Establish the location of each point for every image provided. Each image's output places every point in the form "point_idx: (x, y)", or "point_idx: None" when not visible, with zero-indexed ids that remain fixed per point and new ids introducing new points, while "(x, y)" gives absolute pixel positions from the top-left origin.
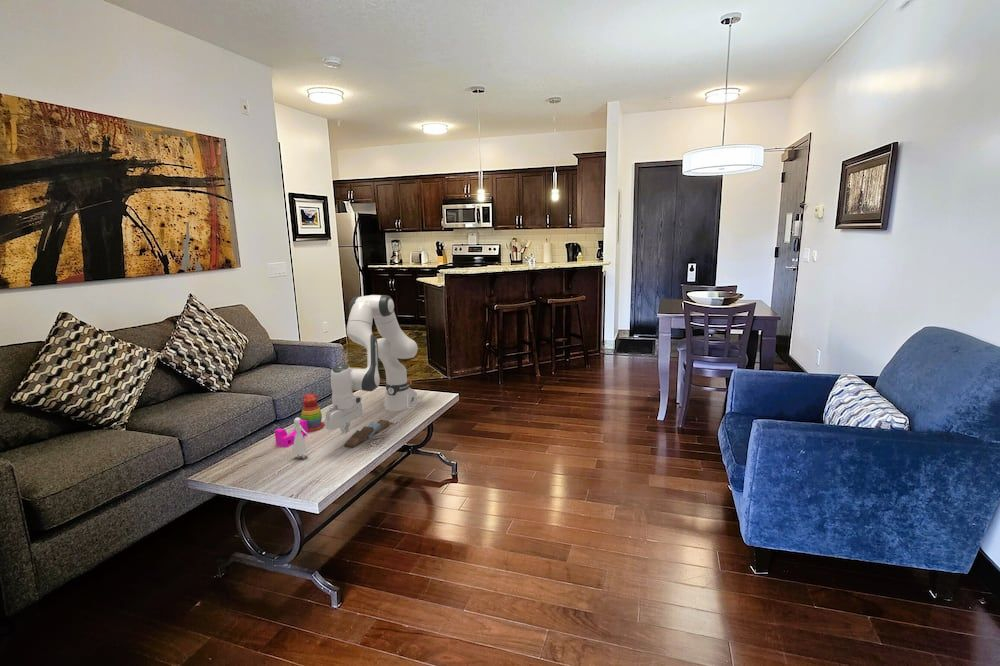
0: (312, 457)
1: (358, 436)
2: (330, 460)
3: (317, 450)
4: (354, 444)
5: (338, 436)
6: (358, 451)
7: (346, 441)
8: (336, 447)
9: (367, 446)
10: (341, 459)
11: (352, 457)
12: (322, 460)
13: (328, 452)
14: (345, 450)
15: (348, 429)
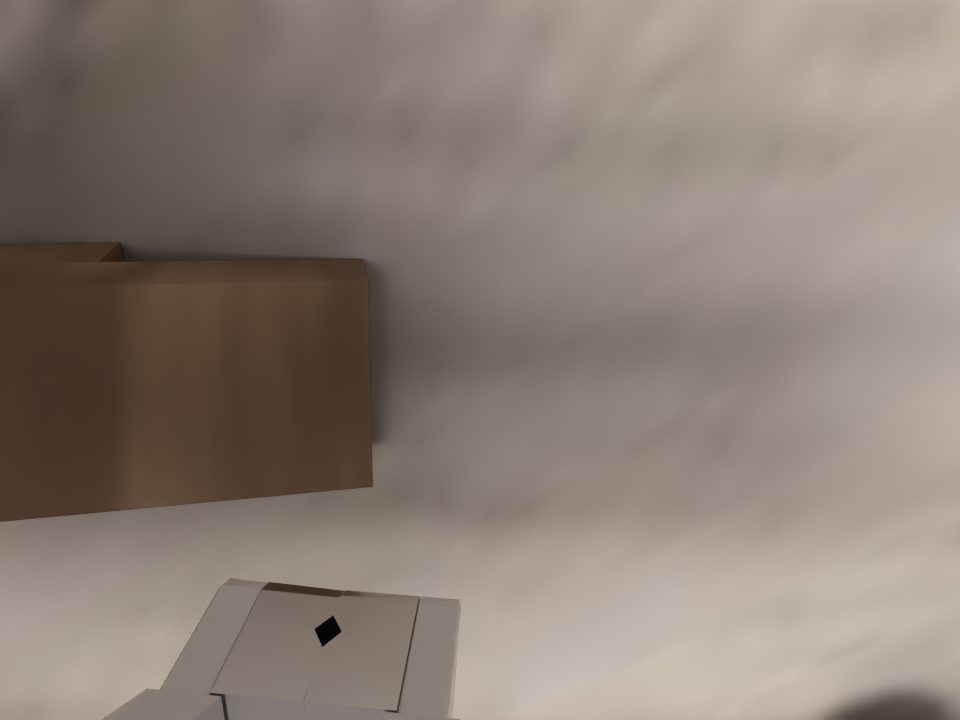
0: (836, 657)
1: (38, 366)
2: (942, 363)
3: (599, 711)
4: (317, 279)
5: (109, 709)
6: (451, 73)
7: (291, 492)
8: (429, 552)
9: (161, 34)
10: (890, 188)
11: (771, 4)
12: (943, 483)
13: (629, 559)
14: (487, 359)
15: (224, 645)
